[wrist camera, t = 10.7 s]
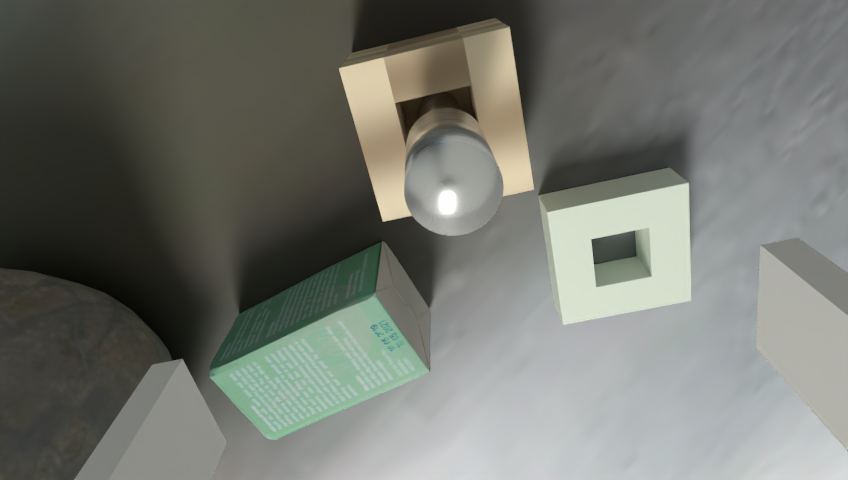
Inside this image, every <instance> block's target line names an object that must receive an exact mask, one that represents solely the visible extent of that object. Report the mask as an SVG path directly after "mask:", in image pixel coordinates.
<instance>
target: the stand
mask: <svg viewBox="0 0 848 480" xmlns="http://www.w3.org/2000/svg"><path fill="white" fill-rule="evenodd" d="M538 197H539V204H540V211H541V218H542V224H543V231H544V238H545V245H546V252H547V258H548V265H549V272H550V279H551V286H552V292H553V299H554V304H555V306H556V309H557V311H558V313H559V316H560V318H561V321H562V323H563V325H565V324H570V323H576V322H581V321H586V320H591V319H597V318H602V317H607V316H612V315H618V314H623V313H628V312H634V311H639V310H644V309H649V308H655V307H660V306H665V305H671V304H676V303H681V302H686V301H691V269H690V214H689V182H687V181H686V180H685V179H684V178H682V177H681V176H680V175H679V174H677V173H676V172H675V171H673V170H672V169H671V168H670V167H669V168H665V169H660V170H655V171H651V172H646V173H641V174H636V175H632V176H627V177H622V178H618V179H613V180H608V181H603V182H599V183H594V184H589V185H584V186H580V187H575V188H570V189H566V190H561V191H556V192H551V193H547V194H542V195H538ZM630 231H635V242H636V256H635V257H630V258H625V259H620V260H615V261H610V262H605V263H600V264H595V265H594V261H593V252H592V242H591V239H595V238H600V237H605V236H610V235H615V234H620V233H625V232H630Z"/></svg>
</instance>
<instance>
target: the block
mask: <svg viewBox="0 0 848 480" xmlns="http://www.w3.org/2000/svg"><path fill="white" fill-rule="evenodd" d="M339 71H340V74H341V78H342V81H343V85H344V88H345V92H346V95H347V99H348V102H349V105H350V109H351V112H352V116H353V119H354V123H355V126H356V130H357V133H358V137H359V140H360V144H361V147H362V151H363V154H364V158H365V161H366V165H367V168H368V172H369V175H370V179H371V182H372V186H373V189H374V193H375V196H376V200H377V203H378V207H379V210H380V214H381V217H382V221H383V222H385V221H389V220H394V219H399V218H403V217H408V216H412V215H411V213H410V211H409V209H408V207H407V204H406V201H405V196H404V180H405V158H406V141H407V137H408V134H409V132H410V130H411V128H412V126H413V125H414V123H415V122H416V121H417V120H418V119H419V106H420V103H421V101H422V100H423V98H424V97H425V96H427V95H432V94H436V93H440V92H445V91H446V92H448V93H450V94H452V95H453V96H454V97H455V98H456V99H457V101H458V103H459V106H460V109H461V111H464V112H466V113H468V114H469V115H471V116H472V117H473V118H474V119H475V120H476V121H477V122H478V123H479V125H480V126H481V128H482V130H483V132H484V135H485V137H486V139H487V141H488V144H489V146H490V148H491V151H492V153H493V155H494V158H495V160H496V162H497V164H498V167H499V169H500V172H501V174H502V178H503V185H504V188H503V196H506V195H511V194H516V193H521V192H525V191H530V190H534V186H533V180H532V173H531V166H530V160H529V153H528V146H527V140H526V133H525V126H524V120H523V113H522V106H521V100H520V93H519V86H518V80H517V73H516V66H515V60H514V53H513V46H512V40H511V33H510V27H509V26H507V25H506V24H504V23H502V22H501V21H499V20H498V19H496V18H493V19H489V20H485V21H481V22H476V23H472V24H468V25H464V26H460V27H456V28H452V29H448V30H444V31H440V32H435V33H431V34H427V35H423V36H419V37H415V38H411V39H407V40H403V41H399V42H394V43H390V44H386V45H382V46H378V47H374V48H370V49H366V50H362V51H358V52H353V53H351V54H350V56H349V57H348V58H347V59H346V60H345V62H344V63H343V64H342V65H341V66H340V68H339Z"/></svg>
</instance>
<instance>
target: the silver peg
mask: <svg viewBox="0 0 848 480" xmlns="http://www.w3.org/2000/svg"><path fill="white" fill-rule="evenodd" d="M503 188H504V185H503V178H502V174H501V172H500V169H499V167H498V164H497V162H496V160H495V158H494V155H493V153H492V151H491V148H490V146H489V144H488V141H487V139H486V137H485V135H484V132H483V130H482V128H481V126H480V125H479V123H478V122H477V121H476V120H475V119H474V118H473V117H472V116H471V115H469V114H468V113H466V112H464V111H461V109H460V106H459V103H458V101H457V99H456V98H455V97H454V96H453V95H452V94H450V93H448V92H446V91H445V92H440V93H436V94H432V95H427V96H425V97H424V98H423V100H422V101H421V103H420V106H419V119H418V120H417V121H416V122H415V123H414V125H413V126H412V128H411V130H410V132H409V134H408V137H407V141H406V158H405V180H404V196H405V201H406V204H407V207H408V209H409V211H410V213H411V215H412V216H413V217H414V219H415V220H416V221H417V222H418V223H419V224H421V225H422V226H423V227H425V228H426V229H428V230H430V231H432V232H435V233H438V234H442V235H449V236H456V235H463V234H467V233H470V232H473V231H475V230H477V229H479V228H481V227H482V226H483V225H485V224H486V223H487V222H488V221H489V220H490V219H491V218H492V217H493V216H494V215H495V213H496V212H497V210H498V208H499V206H500V204H501V201H502V197H503Z"/></svg>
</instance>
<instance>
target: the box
mask: <svg viewBox="0 0 848 480" xmlns="http://www.w3.org/2000/svg"><path fill="white" fill-rule="evenodd" d="M428 372H430V310H429V308H428V306H427V304H426V303H425V301H424V300H423V298H422V297H421V295H420V293H419V292H418V290H417V289H416V287H415V286H414V284H413V283H412V281H411V279H410V278H409V276H408V275H407V273H406V272H405V270H404V269H403V267H402V265H401V264H400V262H399V261H398V259H397V258H396V256H395V255H394V254H393V252H392V251H391V249H390V248H389V247H388V245H387V244H386V243H385V242H384V241H382V242H380V243H378V244H376V245H373V246H371V247H369V248H367V249H365V250H363V251H361V252H359V253H357V254H355V255H353V256H351V257H349V258H346V259H344V260H342V261H340V262H338V263H336V264H334V265H332V266H330V267H328V268H326V269H324V270H322V271H320V272H319V273H317V274H315V275H313V276H311V277H309V278H307V279H305V280H303V281H301V282H299V283H298V284H296V285H294V286H292V287H290V288H288V289H286V290H284V291H282V292H281V293H279V294H277V295H275V296H273V297H271V298H269V299H267V300H265V301H263V302H262V303H260V304H258V305H256V306H254V307H252V308H250V309H248V310H246V311H244V312H242V313H240V314H239V315H238V316H237V318H236V320H235V322H234V324H233V326H232V328H231V330H230V331H229V333H228V335H227V337H226V338H225V340H224V342H223V344H222V345H221V347H220V349H219V351H218V352H217V354H216V356H215V358H214V360H213V362H212V364H211V366H210V378H211V379H212V380H213V381H214V382H215V383H216V384H217V385H218V386H219V387H220V388H221V390H222V391H223V392H224V393H225V394H226V395H227V396H228V397H229V398H230V399H231V400H232V402H233V403H234V404H235V405H236V406H237V407H238V408H239V409H240V410H241V411H242V412H243V413H244V414H245V415H246V416H247V417H248V419H249V420H250V421H251V422H252V423H253V424H254V425H255V426H256V427H257V428H258V429H259V430H260V431H261V433H262V434H263V435H264V436H265V437H267V438H268V439H273V440H277V439H279V438H281V437H283V436H285V435H288V434H290V433H292V432H294V431H296V430H299V429H301V428H303V427H305V426H307V425H310V424H312V423H314V422H316V421H319V420H321V419H323V418H325V417H328V416H330V415H332V414H335V413H337V412H339V411H342V410H344V409H346V408H349V407H351V406H353V405H356V404H358V403H360V402H362V401H365V400H367V399H369V398H372V397H374V396H376V395H379V394H381V393H383V392H386V391H388V390H390V389H393V388H395V387H398V386H400V385H402V384H405V383H407V382H409V381H412V380H414V379H416V378H418V377H420V376H422V375H424V374H426V373H428Z"/></svg>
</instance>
